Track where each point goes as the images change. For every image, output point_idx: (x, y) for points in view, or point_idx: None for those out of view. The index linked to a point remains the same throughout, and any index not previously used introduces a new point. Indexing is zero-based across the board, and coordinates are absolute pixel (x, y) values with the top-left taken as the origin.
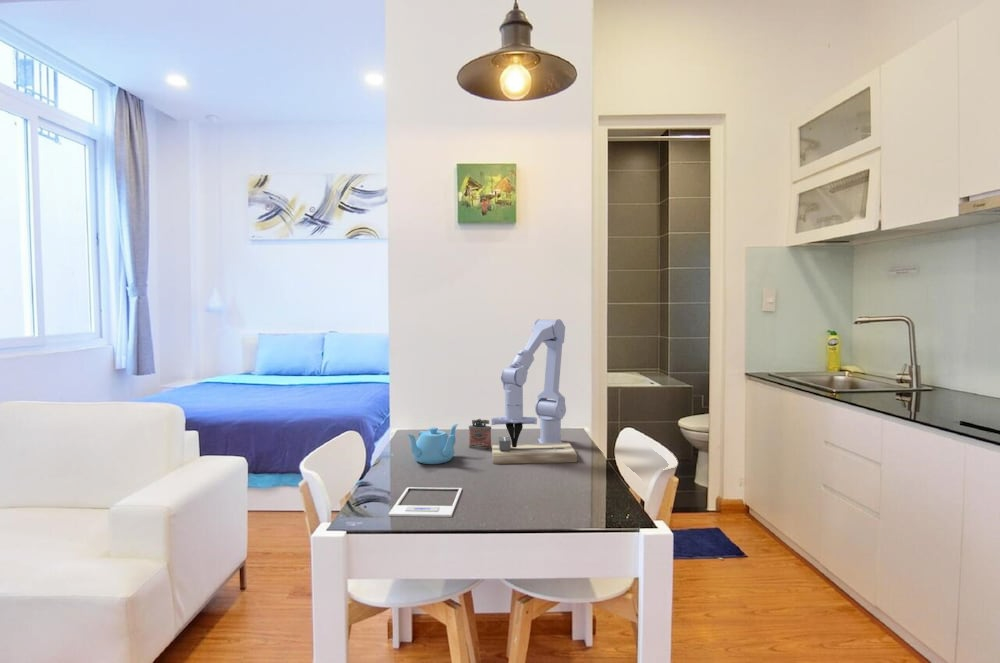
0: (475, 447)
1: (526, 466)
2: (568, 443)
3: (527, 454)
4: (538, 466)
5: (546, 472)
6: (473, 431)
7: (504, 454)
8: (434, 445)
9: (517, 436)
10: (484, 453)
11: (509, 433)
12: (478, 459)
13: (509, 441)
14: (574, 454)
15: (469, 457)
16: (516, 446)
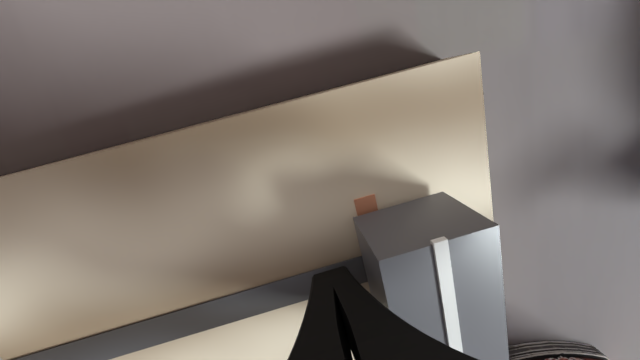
0: (571, 348)
1: (179, 32)
2: None
3: (180, 152)
4: (79, 49)
5: None
6: None
7: (387, 111)
8: None
9: (308, 343)
10: (512, 276)
11: (429, 338)
12: (543, 146)
13: (386, 254)
14: None
15: (596, 177)
16: (312, 278)
